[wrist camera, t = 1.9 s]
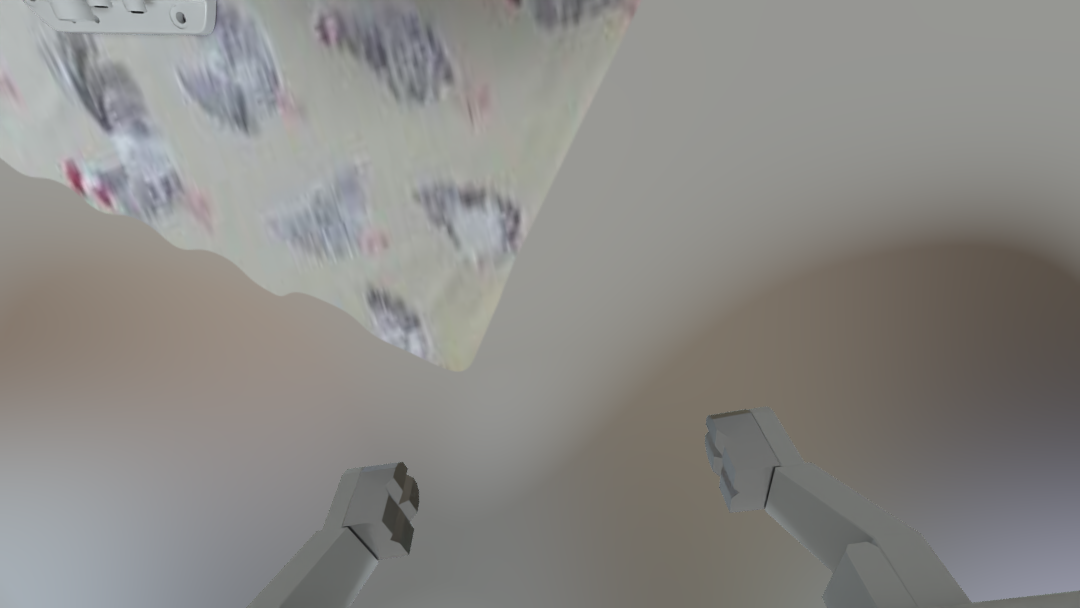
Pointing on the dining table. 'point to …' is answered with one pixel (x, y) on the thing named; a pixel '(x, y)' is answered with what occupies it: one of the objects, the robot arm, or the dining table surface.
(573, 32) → the dining table surface
